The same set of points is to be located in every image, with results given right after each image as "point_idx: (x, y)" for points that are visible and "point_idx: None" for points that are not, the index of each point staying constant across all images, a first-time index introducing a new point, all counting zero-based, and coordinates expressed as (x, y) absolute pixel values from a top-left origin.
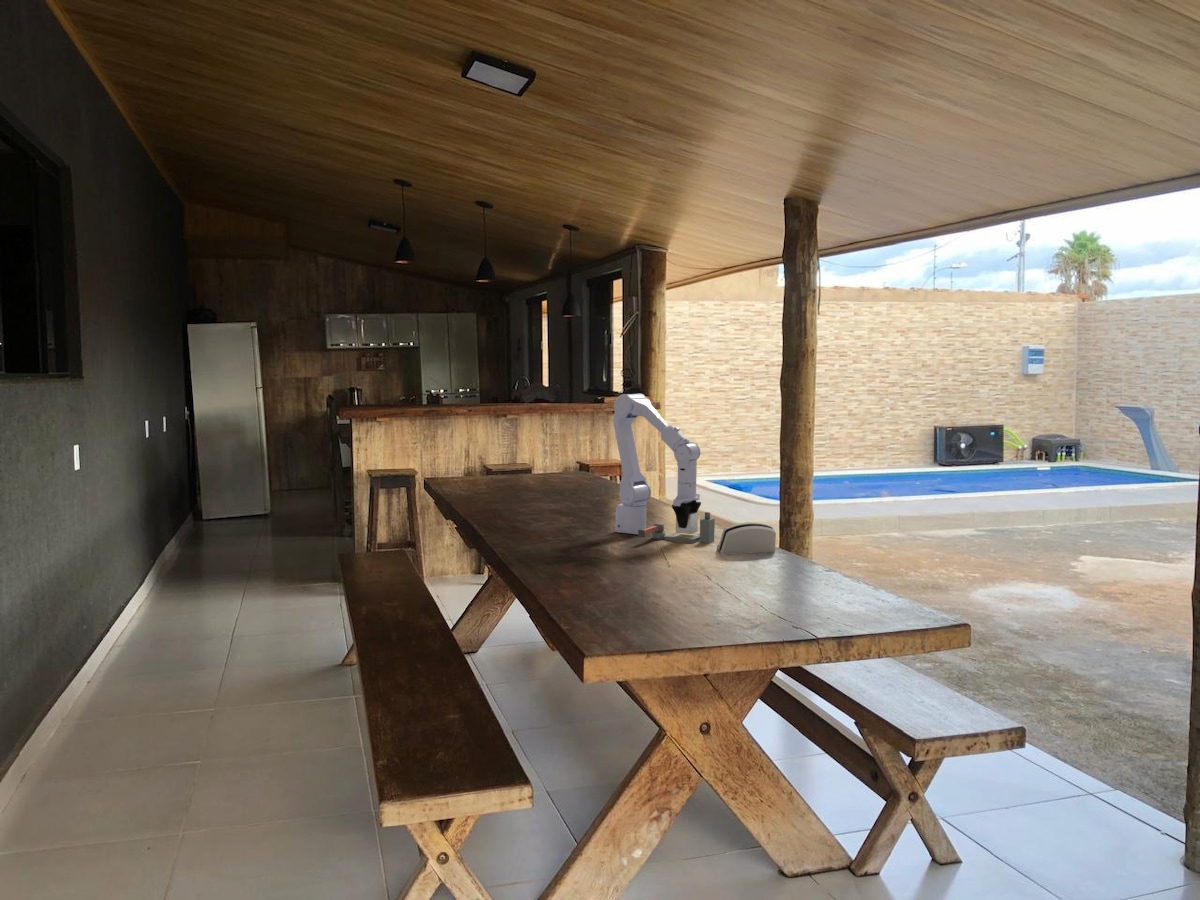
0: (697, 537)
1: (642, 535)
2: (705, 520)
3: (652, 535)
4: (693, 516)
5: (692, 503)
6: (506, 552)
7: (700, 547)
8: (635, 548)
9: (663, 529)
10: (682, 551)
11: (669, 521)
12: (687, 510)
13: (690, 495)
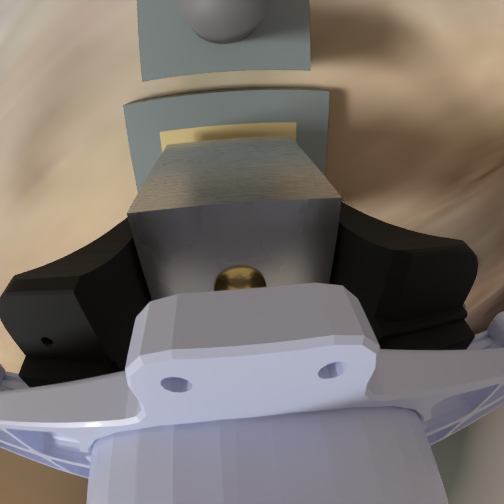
0: (252, 94)
1: None
2: (306, 6)
3: None
4: (255, 186)
5: (118, 355)
6: None
7: (398, 21)
8: (481, 253)
9: None
10: (493, 85)
11: (20, 369)
12: (429, 238)
13: (421, 462)
